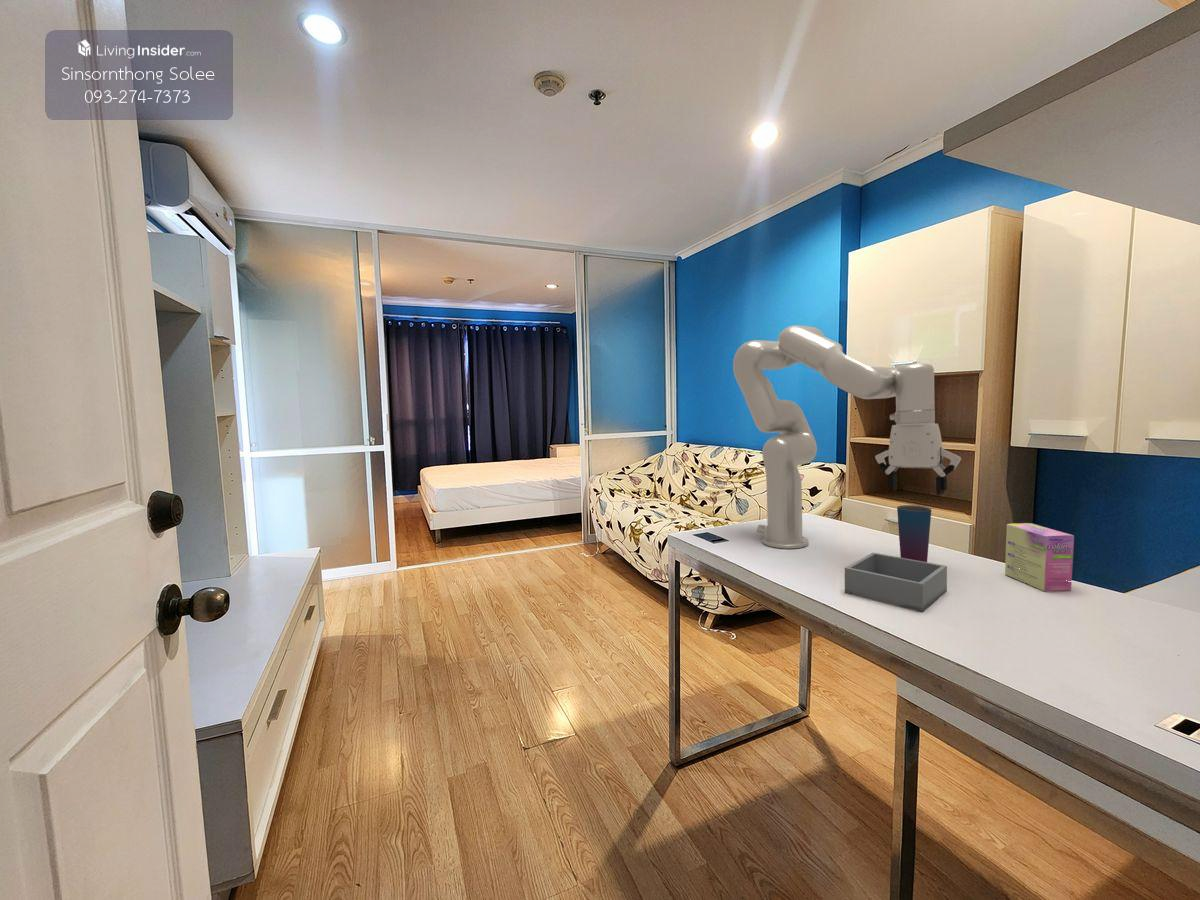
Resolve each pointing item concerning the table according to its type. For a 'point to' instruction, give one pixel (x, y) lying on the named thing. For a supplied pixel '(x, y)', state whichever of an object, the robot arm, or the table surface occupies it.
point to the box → (1039, 556)
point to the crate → (896, 581)
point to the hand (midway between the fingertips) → (916, 491)
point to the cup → (914, 531)
